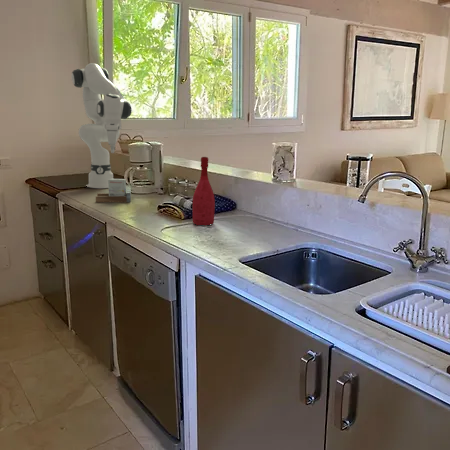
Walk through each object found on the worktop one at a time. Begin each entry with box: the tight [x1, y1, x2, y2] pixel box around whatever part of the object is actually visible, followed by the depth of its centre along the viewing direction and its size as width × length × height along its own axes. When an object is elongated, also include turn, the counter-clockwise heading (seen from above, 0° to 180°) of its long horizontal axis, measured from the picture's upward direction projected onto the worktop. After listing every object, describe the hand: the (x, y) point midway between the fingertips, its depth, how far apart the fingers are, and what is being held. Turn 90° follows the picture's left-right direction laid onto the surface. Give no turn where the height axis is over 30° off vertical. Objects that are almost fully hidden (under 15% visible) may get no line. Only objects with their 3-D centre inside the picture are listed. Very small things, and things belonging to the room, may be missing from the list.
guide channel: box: [95, 189, 132, 203], centre depth 252 cm, size 10×18×5 cm, turn 100°
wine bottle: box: [192, 156, 216, 226], centre depth 203 cm, size 10×10×30 cm
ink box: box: [108, 178, 127, 196], centre depth 251 cm, size 9×5×12 cm, turn 87°
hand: (113, 151), depth 252 cm, fingers open, 8 cm apart
